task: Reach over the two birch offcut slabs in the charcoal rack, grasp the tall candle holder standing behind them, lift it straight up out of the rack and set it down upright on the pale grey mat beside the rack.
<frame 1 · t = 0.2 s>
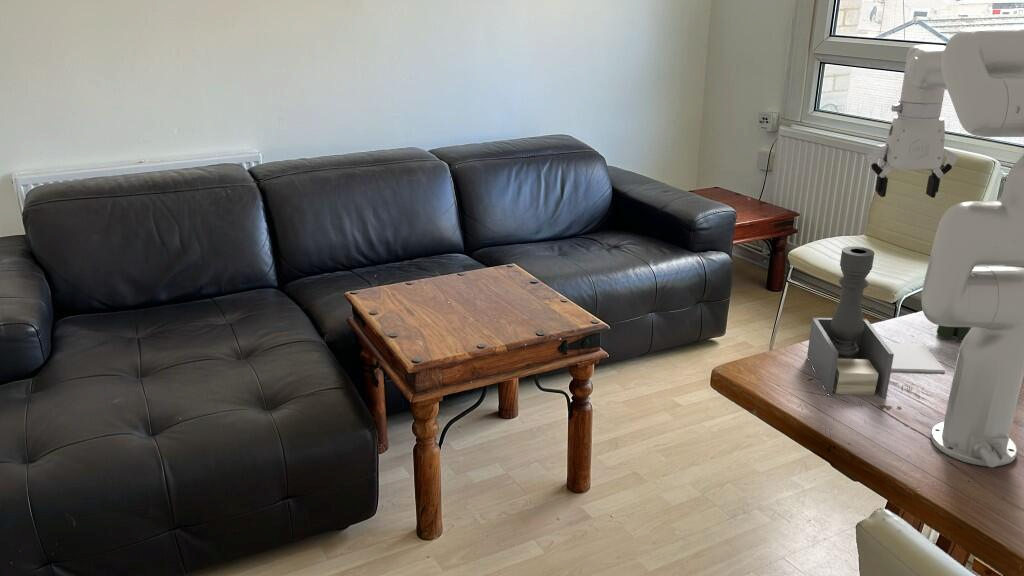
hand: (905, 195, 166), 31 cm above the table, tool pointing down, fingers open, 9 cm apart
mat: (902, 358, 167), on the table
water bottle: (972, 322, 183), on the table
candle holder: (840, 370, 162), resting in rack
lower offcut: (850, 388, 156), on the table, touching upper offcut
rack: (844, 376, 160), on the table
character mug: (951, 338, 176), on the table
upper offcut: (852, 377, 155), point 2 cm above the table, touching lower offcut
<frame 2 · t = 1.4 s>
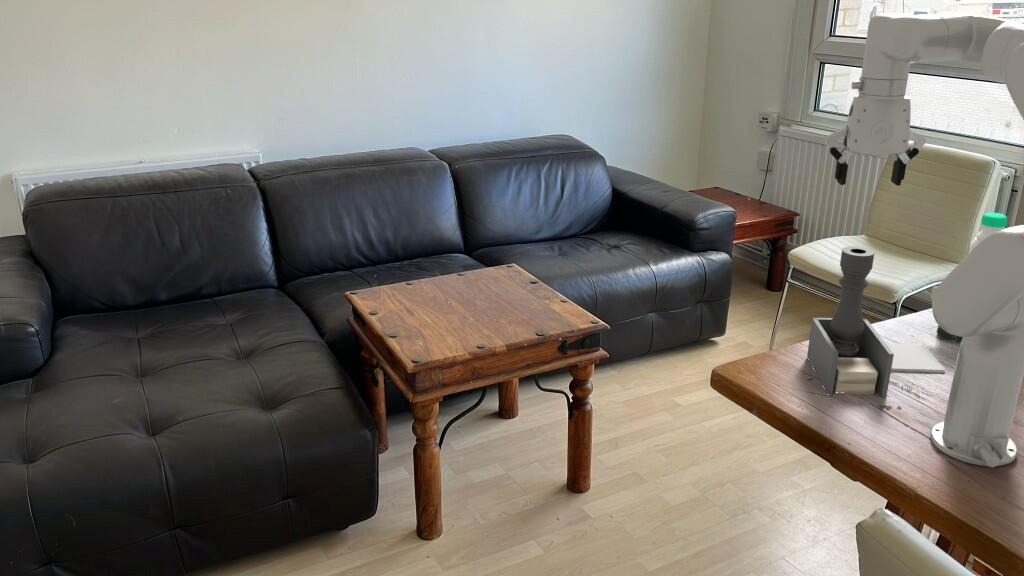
hand: (868, 183, 149), 38 cm above the table, tool pointing down, fingers open, 9 cm apart
nothing on the table moved.
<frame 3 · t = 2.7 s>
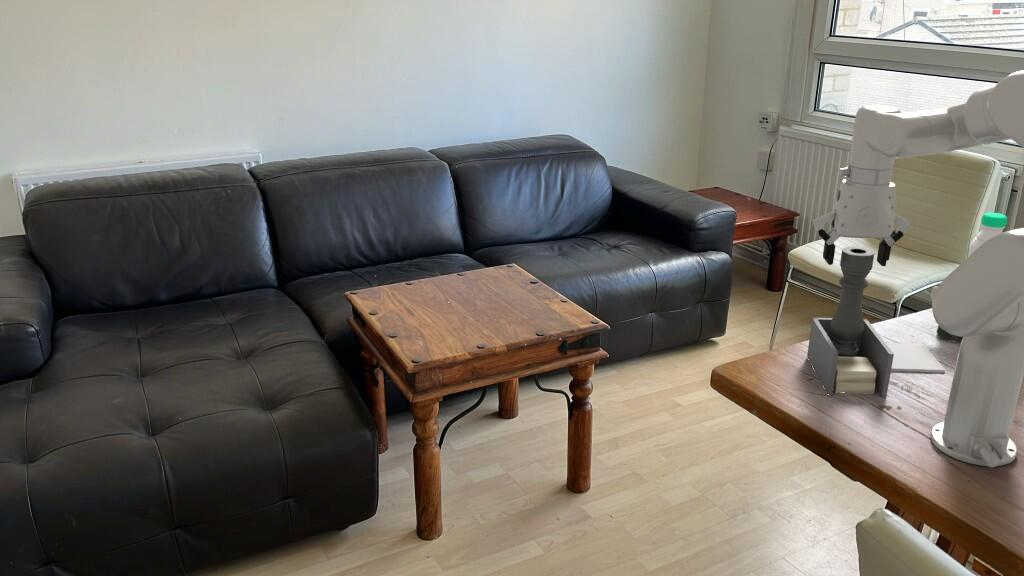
hand: (854, 263, 154), 22 cm above the table, tool pointing down, fingers open, 9 cm apart
nothing on the table moved.
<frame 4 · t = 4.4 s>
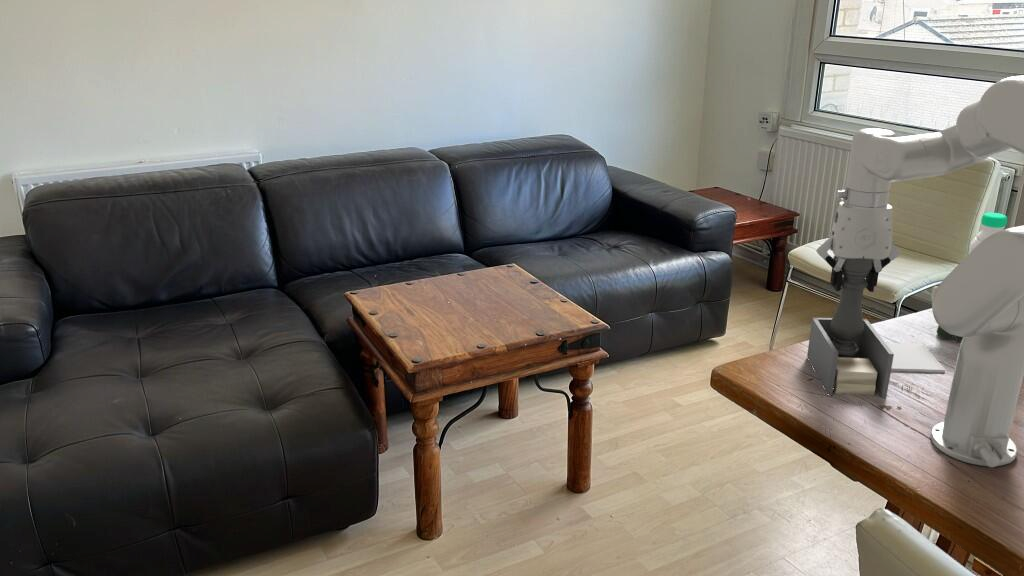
hand: (852, 288, 156), 17 cm above the table, tool pointing down, fingers closed on candle holder, 5 cm apart
candle holder: (840, 370, 162), resting in rack, touching gripper
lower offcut: (849, 388, 156), on the table
upper offcut: (851, 376, 155), point 2 cm above the table
everything else where it was.
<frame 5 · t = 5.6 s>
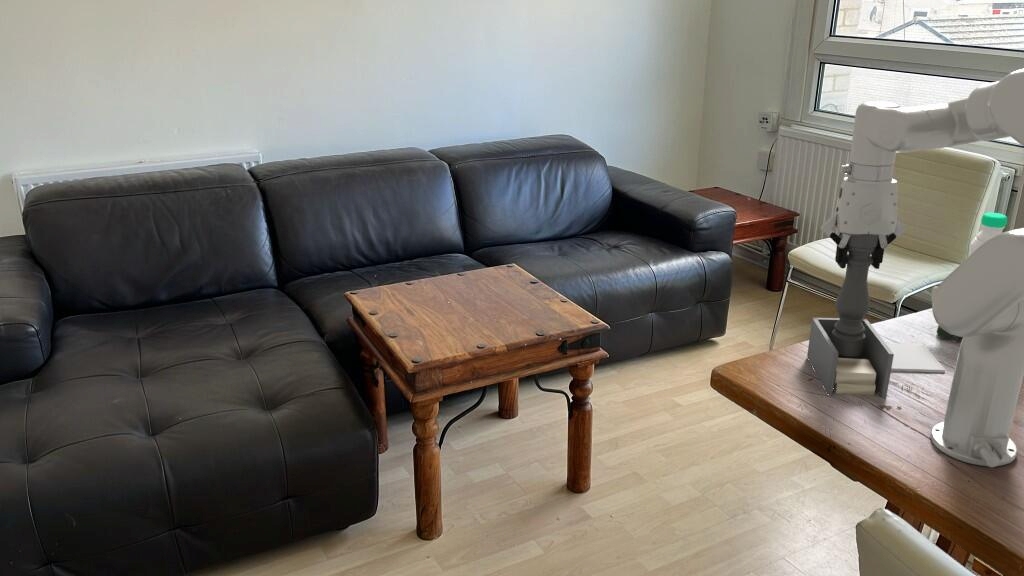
hand: (857, 265, 154), 22 cm above the table, tool pointing down, fingers closed on candle holder, 5 cm apart
candle holder: (846, 350, 160), point 5 cm above the table, touching gripper
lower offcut: (849, 388, 156), on the table, touching upper offcut
upper offcut: (851, 377, 155), point 2 cm above the table, touching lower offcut
everything else where it was.
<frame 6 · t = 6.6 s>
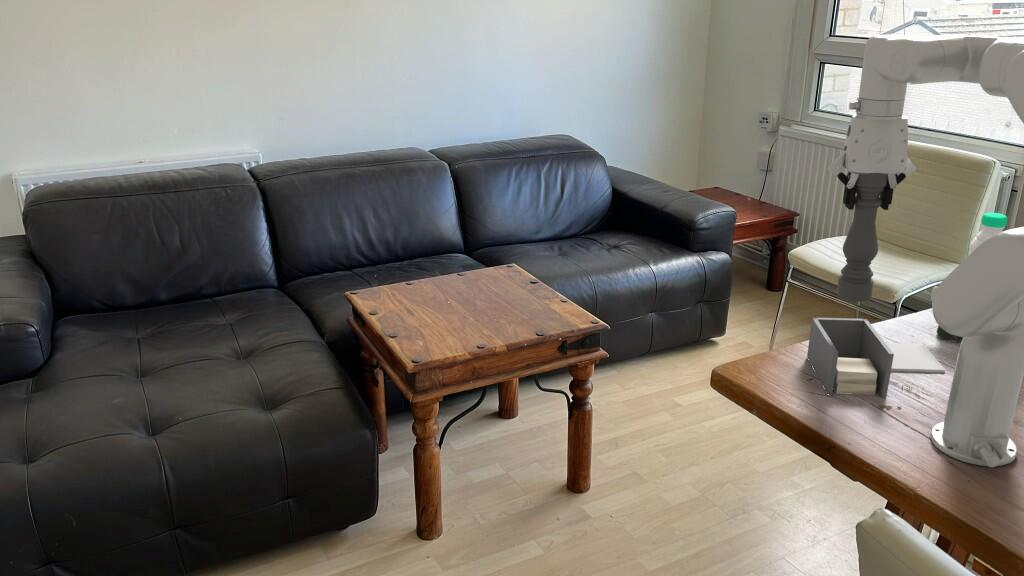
hand: (866, 207, 150), 34 cm above the table, tool pointing down, fingers closed on candle holder, 5 cm apart
candle holder: (853, 296, 156), point 16 cm above the table, touching gripper
everything else where it was.
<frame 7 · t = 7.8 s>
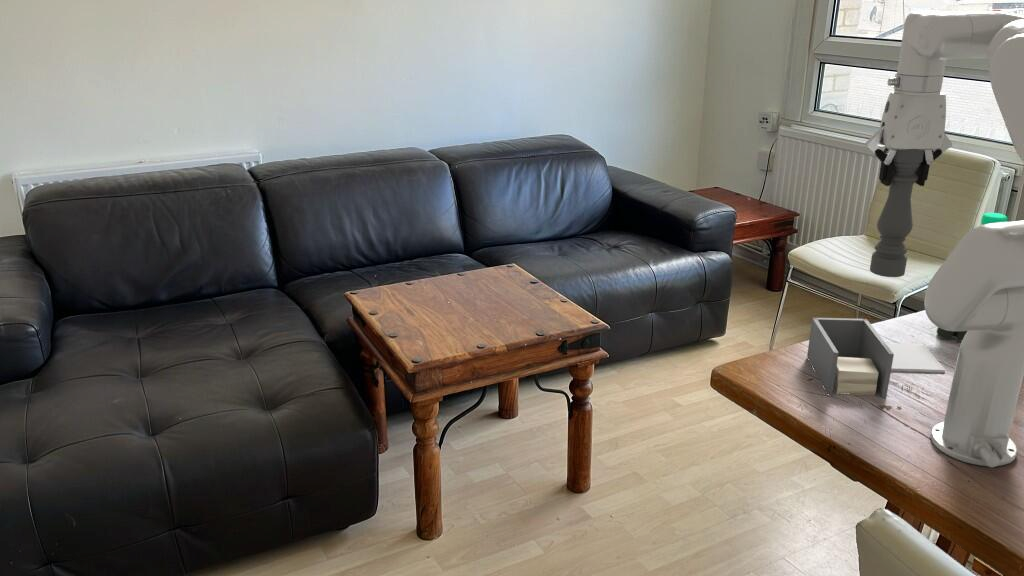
hand: (902, 183, 151), 37 cm above the table, tool pointing down, fingers closed on candle holder, 5 cm apart
candle holder: (886, 272, 157), point 20 cm above the table, touching gripper
everything else where it was.
when the fingers open (19 cm above the table, at t = 12.2 s): candle holder drops 1 cm, resting on mat.
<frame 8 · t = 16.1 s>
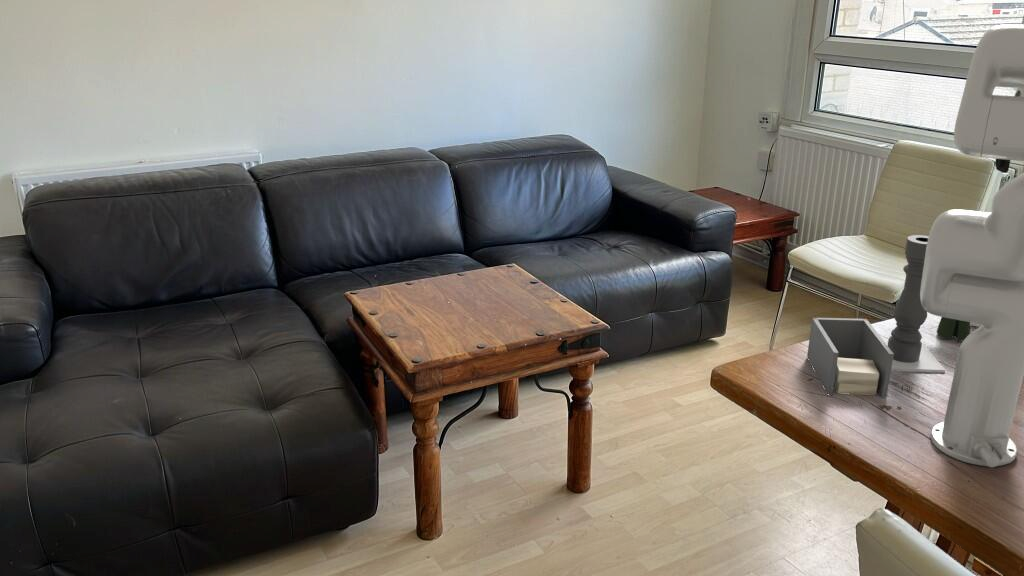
candle holder: (902, 356, 166), resting on mat
everything else where it was.
at the end: candle holder inside the target area on the mat (0.3 cm from its centre), point 0.4 cm above the mat's base; candle holder tilted 0°; upper offcut moved 0.6 cm from its start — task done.
